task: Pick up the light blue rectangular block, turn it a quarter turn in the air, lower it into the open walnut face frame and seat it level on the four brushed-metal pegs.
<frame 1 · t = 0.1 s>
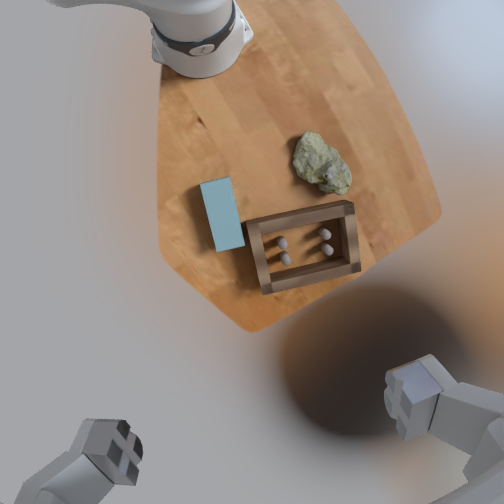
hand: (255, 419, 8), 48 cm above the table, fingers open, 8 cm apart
light blue rectangular block: (223, 211, 54), on the table
frame: (302, 243, 56), on the table
rock: (319, 163, 53), on the table
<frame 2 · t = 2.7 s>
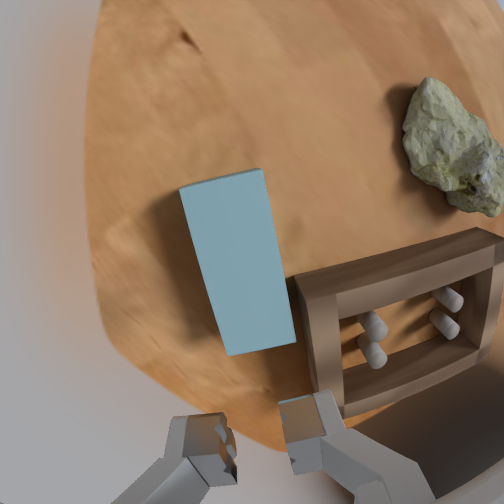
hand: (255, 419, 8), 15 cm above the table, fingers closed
light blue rectangular block: (241, 254, 23), on the table
frame: (402, 314, 25), on the table
rock: (444, 147, 21), on the table
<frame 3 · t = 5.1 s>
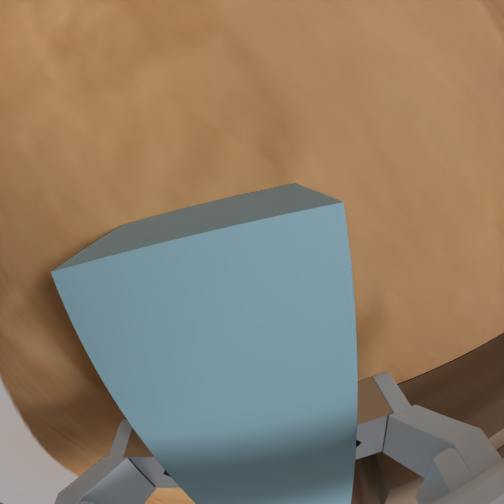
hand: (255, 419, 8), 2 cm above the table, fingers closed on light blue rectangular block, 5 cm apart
light blue rectangular block: (251, 372, 10), on the table, touching gripper
frame: (485, 409, 12), on the table
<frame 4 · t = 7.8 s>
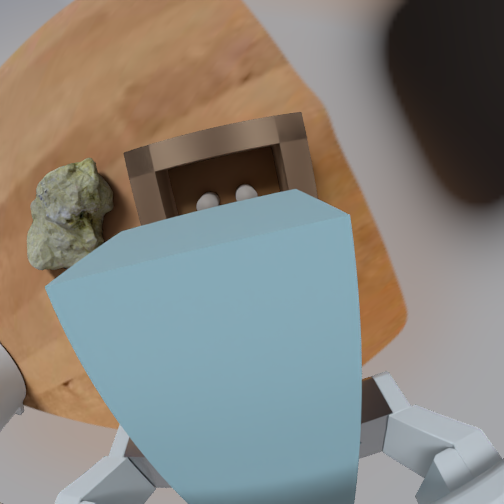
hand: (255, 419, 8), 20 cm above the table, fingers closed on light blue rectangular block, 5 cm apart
light blue rectangular block: (252, 381, 10), point 18 cm above the table, touching gripper
frame: (237, 241, 27), on the table
rock: (74, 213, 25), on the table
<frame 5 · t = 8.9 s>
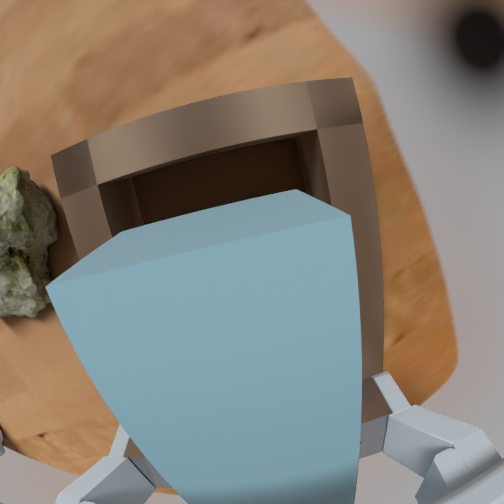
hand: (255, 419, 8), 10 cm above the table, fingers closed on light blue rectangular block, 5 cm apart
light blue rectangular block: (252, 381, 10), point 8 cm above the table, touching gripper
frame: (242, 285, 17), on the table
rock: (16, 243, 16), on the table
when the fingers open (6 cm above the table, at t = 10.0 s): light blue rectangular block drops 1 cm, resting on frame.
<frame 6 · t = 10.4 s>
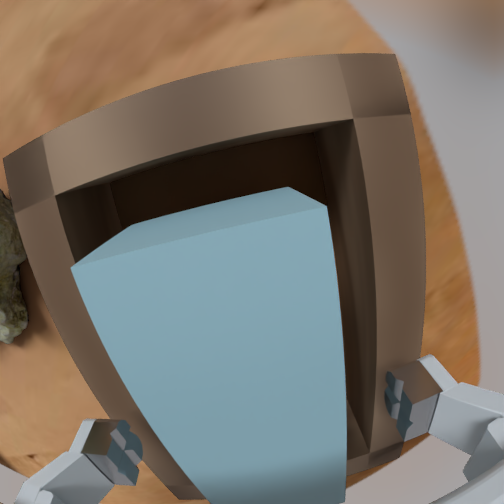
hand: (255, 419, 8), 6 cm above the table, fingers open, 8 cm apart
light blue rectangular block: (250, 364, 11), point 3 cm above the table, touching frame
frame: (247, 315, 14), on the table
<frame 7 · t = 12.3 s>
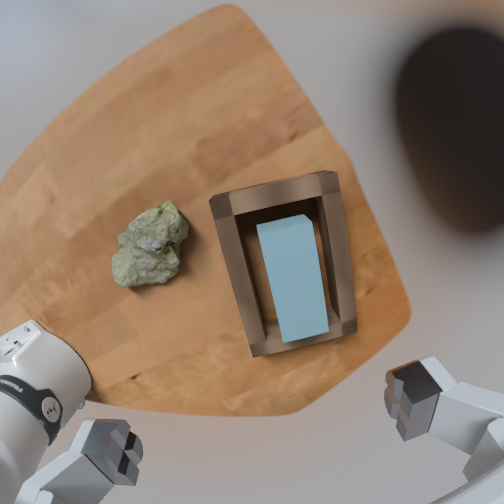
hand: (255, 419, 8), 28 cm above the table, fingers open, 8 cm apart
light blue rectangular block: (291, 272, 33), point 3 cm above the table, touching frame
frame: (287, 260, 36), on the table
rock: (152, 240, 35), on the table
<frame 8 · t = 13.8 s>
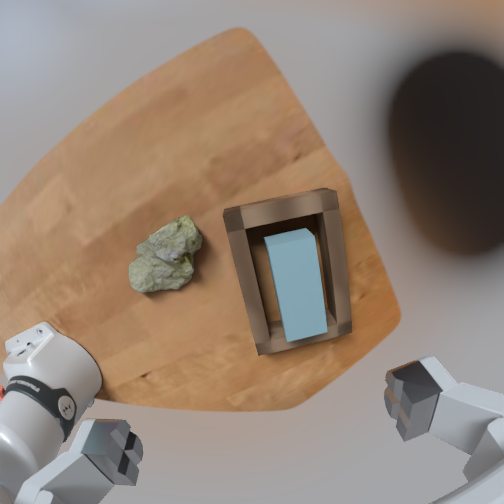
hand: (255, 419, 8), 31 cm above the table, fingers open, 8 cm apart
light blue rectangular block: (293, 279, 37), point 3 cm above the table, touching frame
frame: (289, 268, 40), on the table
rock: (166, 250, 39), on the table
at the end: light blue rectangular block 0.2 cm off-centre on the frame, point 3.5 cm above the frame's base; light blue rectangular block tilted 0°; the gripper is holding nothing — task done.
